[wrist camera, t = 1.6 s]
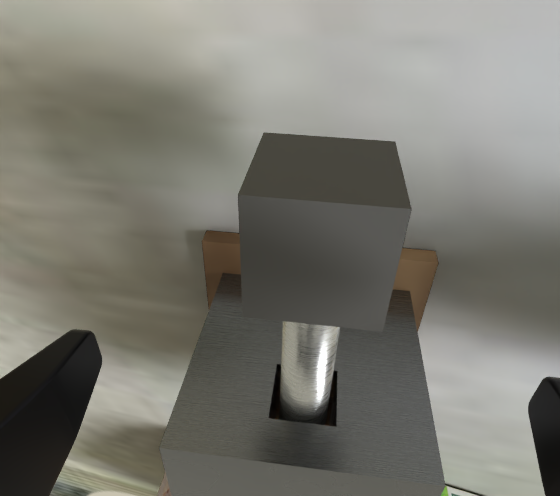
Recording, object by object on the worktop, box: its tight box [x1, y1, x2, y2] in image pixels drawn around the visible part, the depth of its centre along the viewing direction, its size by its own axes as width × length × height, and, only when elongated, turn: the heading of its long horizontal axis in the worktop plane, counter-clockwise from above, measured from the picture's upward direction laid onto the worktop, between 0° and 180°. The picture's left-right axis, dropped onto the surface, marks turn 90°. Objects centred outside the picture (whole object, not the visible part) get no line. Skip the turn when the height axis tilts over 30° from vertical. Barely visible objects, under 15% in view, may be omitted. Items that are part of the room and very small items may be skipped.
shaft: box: [238, 133, 411, 425], centre depth 18 cm, size 4×20×4 cm, turn 178°
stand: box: [159, 231, 445, 496], centre depth 23 cm, size 12×15×11 cm
